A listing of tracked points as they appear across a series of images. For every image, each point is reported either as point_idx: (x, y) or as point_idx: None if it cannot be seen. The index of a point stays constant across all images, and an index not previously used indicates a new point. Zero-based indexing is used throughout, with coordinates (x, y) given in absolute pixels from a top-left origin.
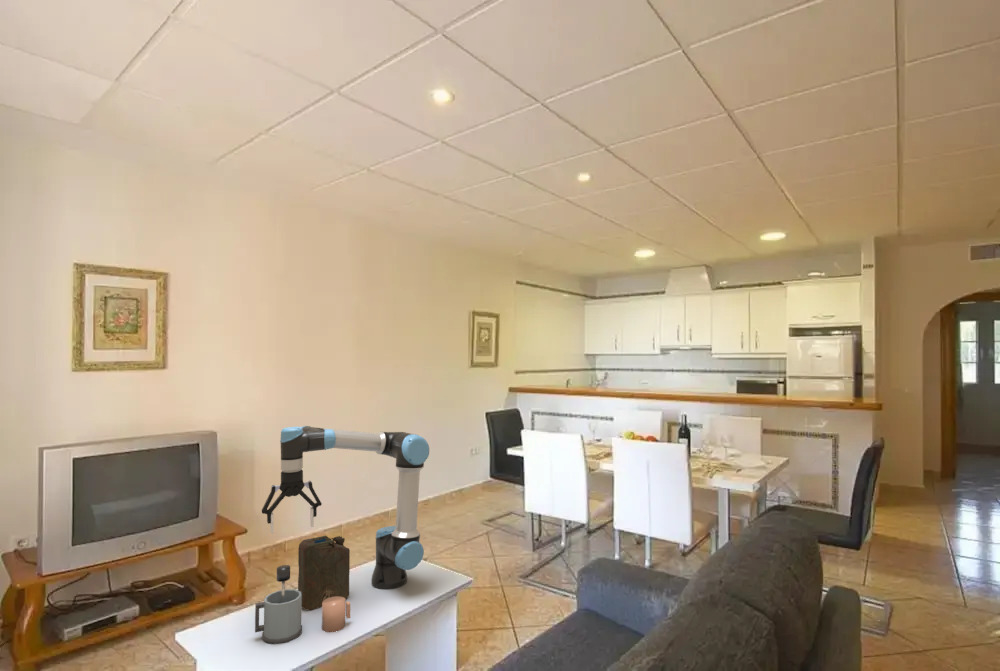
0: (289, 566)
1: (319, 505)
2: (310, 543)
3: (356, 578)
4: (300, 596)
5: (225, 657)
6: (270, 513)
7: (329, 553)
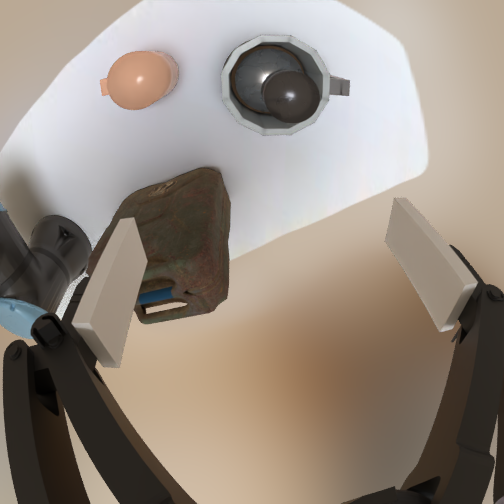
0: (267, 97)
1: (22, 343)
2: (184, 275)
3: None
4: (224, 67)
5: (374, 40)
6: (485, 292)
7: None
